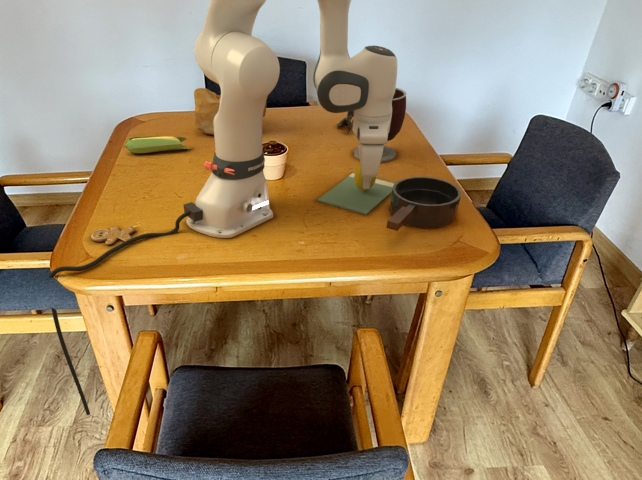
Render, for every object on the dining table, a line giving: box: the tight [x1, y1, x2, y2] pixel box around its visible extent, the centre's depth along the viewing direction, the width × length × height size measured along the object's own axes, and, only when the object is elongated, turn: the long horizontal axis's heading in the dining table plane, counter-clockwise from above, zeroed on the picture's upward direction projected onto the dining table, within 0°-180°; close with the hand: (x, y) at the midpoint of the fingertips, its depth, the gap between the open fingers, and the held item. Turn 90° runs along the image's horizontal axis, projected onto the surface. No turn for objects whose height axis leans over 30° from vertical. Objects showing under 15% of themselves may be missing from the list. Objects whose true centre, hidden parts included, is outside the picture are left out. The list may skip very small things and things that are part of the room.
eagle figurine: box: [336, 110, 354, 135], centre depth 172 cm, size 8×7×9 cm
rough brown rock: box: [193, 87, 268, 136], centre depth 173 cm, size 23×17×15 cm
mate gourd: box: [353, 87, 407, 163], centre depth 152 cm, size 16×14×20 cm
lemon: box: [354, 164, 377, 192], centre depth 136 cm, size 6×6×8 cm
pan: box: [388, 176, 462, 229], centre depth 128 cm, size 16×16×6 cm
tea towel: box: [316, 172, 396, 216], centre depth 139 cm, size 20×14×1 cm
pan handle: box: [385, 204, 416, 232], centre depth 119 cm, size 12×3×2 cm, turn 145°
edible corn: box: [124, 135, 191, 155], centre depth 162 cm, size 5×20×5 cm, turn 98°
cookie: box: [91, 225, 136, 246], centre depth 125 cm, size 8×1×10 cm
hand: (364, 179), depth 136 cm, fingers open, 8 cm apart
